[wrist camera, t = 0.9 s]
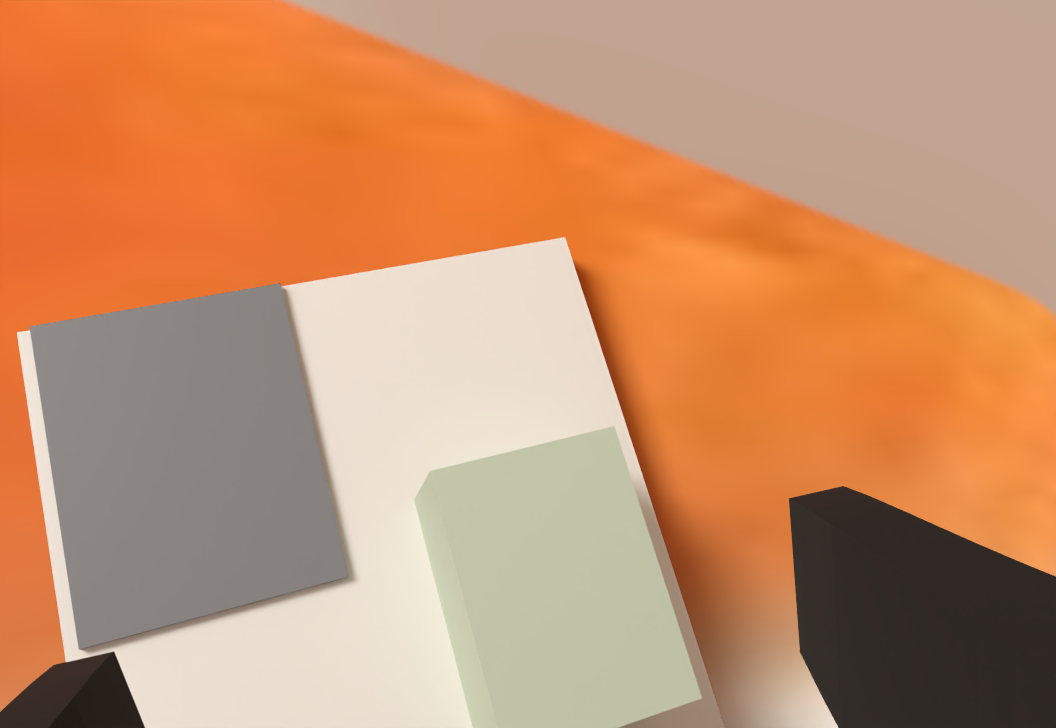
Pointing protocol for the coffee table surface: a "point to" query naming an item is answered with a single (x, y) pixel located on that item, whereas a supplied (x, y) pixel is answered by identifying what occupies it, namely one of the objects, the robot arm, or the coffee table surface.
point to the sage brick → (553, 588)
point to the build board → (303, 481)
